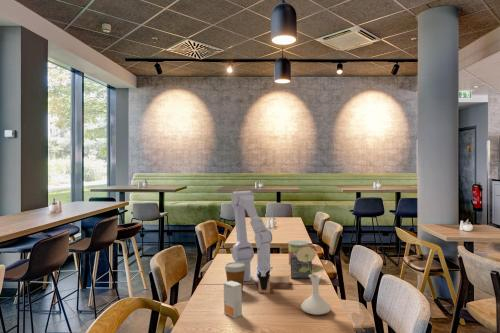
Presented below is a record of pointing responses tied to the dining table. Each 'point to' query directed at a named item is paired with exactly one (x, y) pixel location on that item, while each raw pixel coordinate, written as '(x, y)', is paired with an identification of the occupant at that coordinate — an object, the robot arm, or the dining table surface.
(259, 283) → the terracotta cube
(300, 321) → the dining table surface
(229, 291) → the skincare box
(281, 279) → the walnut block
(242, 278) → the disposable coffee cup
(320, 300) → the flower in vase
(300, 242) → the canned food
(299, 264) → the small box
